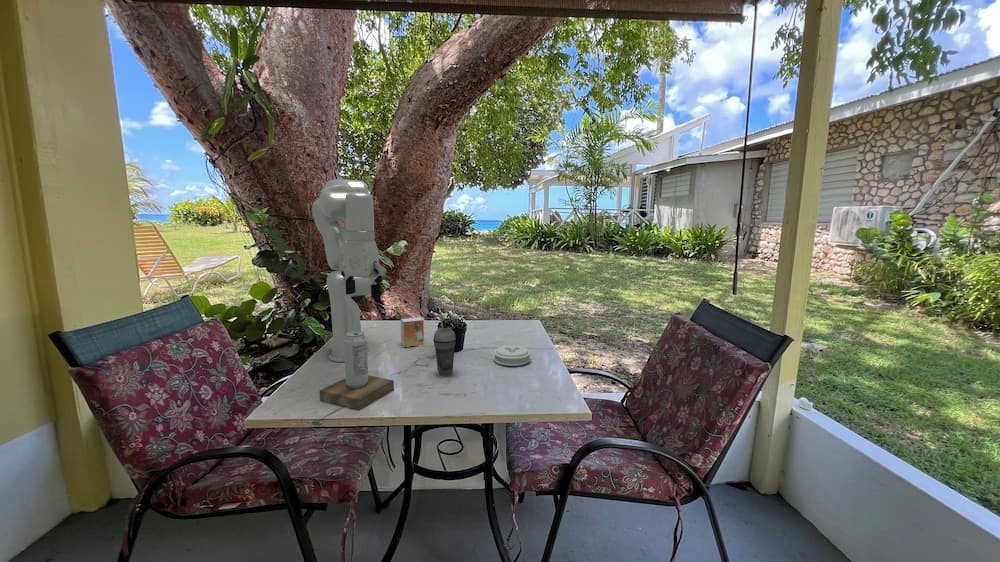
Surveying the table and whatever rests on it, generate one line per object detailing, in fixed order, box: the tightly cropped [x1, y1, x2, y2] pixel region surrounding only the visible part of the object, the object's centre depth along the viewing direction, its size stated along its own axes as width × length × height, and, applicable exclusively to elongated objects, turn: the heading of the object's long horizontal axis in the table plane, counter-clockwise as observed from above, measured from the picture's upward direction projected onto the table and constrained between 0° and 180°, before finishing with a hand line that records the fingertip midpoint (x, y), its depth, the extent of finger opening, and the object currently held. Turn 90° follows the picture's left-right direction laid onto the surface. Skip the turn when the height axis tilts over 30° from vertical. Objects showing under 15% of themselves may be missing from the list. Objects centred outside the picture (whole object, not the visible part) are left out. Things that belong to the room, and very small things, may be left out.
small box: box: [400, 316, 425, 348], centre depth 163 cm, size 8×6×10 cm
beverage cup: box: [432, 312, 457, 378], centre depth 132 cm, size 7×7×20 cm
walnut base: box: [319, 374, 395, 411], centre depth 117 cm, size 14×14×3 cm
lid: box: [493, 344, 531, 367], centre depth 145 cm, size 13×13×5 cm
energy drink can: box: [344, 330, 369, 388], centre depth 116 cm, size 6×6×15 cm
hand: (363, 295), depth 121 cm, fingers open, 9 cm apart
